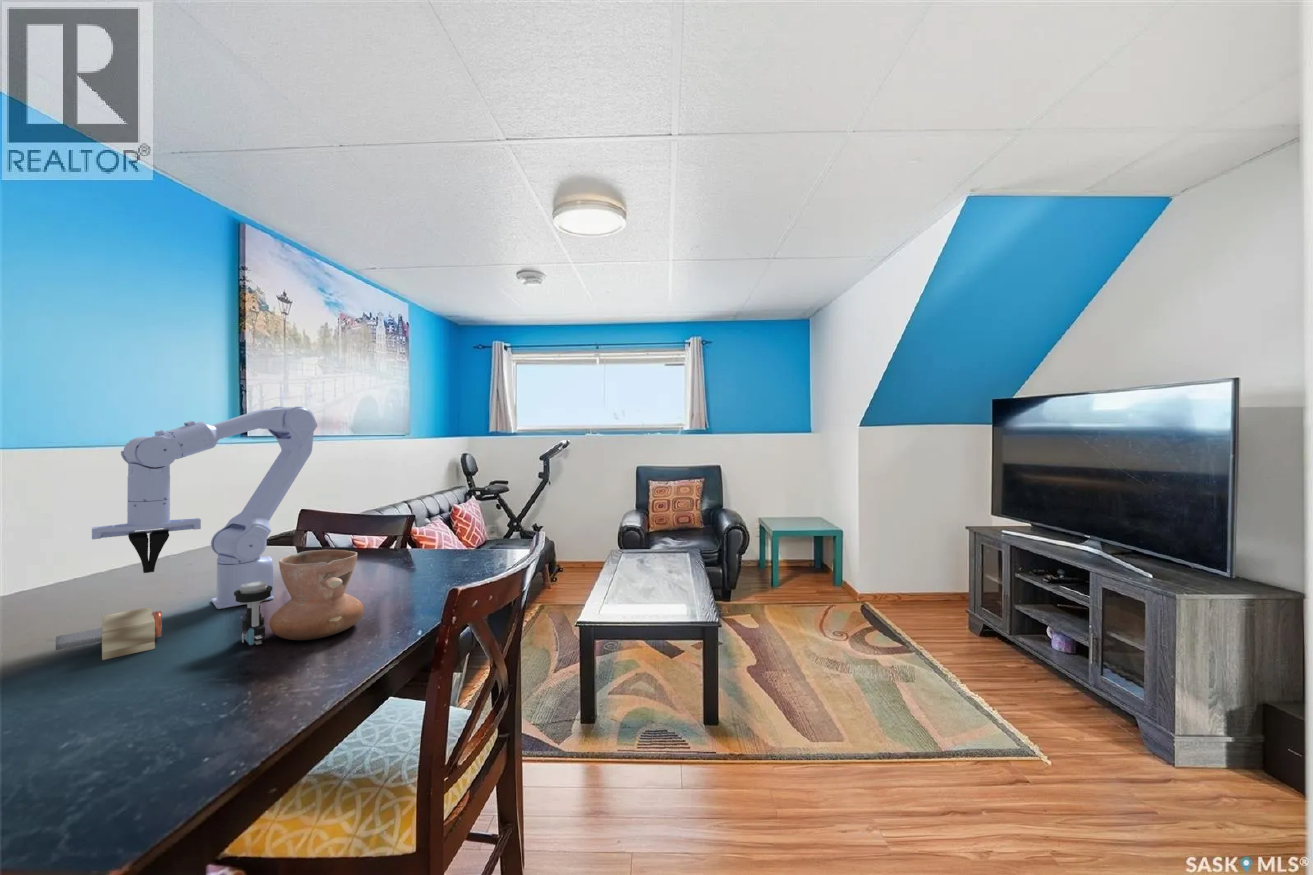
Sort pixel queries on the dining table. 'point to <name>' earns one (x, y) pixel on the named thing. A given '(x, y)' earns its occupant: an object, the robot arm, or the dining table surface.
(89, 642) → the pin
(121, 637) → the hitch block
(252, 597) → the push button
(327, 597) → the ceramic jug
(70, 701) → the dining table surface
